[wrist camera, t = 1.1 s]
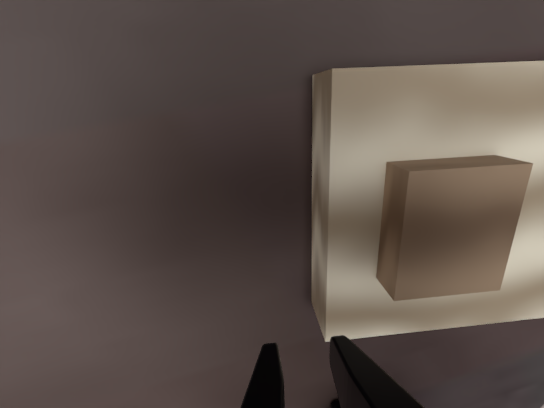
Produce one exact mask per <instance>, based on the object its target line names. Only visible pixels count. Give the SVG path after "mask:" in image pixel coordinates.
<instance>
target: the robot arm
mask: <svg viewBox="0 0 544 408" xmlns="http://www.w3.org/2000/svg"><path fill="white" fill-rule="evenodd" d="M330 366H331V370H332V374H333V378H334V382H335V386H336V390H337V394H338V398H339V400H338V401H334V402H332V403H331V408H424V407H423V406H422V405H421V404H420V403H419V402H418V401H417V400H416V399H414V398H413V397H412V396H411V395H410V394H409V393H408V392H407V391H406V390H405V389H403V388H402V387H401V386H400V385H399V384H398V383H397V382H396V381H395V380H394V379H392V378H391V377H390V376H389V375H388V374H387V373H386V372H385V371H384V370H383V369H381V368H380V367H379V366H378V365H377V364H376V363H375V362H374V361H373V360H372V359H370V358H369V357H368V356H367V355H366V354H365V353H364V352H363V351H362V350H361V349H359V348H358V347H357V346H356V345H355V344H354V343H353V342H352V341H351V340H350V339H348V338H347V337H346V336H344V335H340V336H332V337H331V339H330ZM241 408H285V401H284V380H283V373H282V367H281V361H280V355H279V350H278V345H277V343H267V344H264V345H263V346H262V348H261V351H260V354H259V357H258V360H257V362H256V365H255V368H254V371H253V374H252V377H251V379H250V382H249V385H248V388H247V391H246V394H245V396H244V399H243V402H242V405H241Z"/></svg>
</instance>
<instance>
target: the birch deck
mask: <svg viewBox="0 0 544 408" xmlns="http://www.w3.org/2000/svg"><path fill="white" fill-rule="evenodd" d="M485 155H498V156H502V157H507V158H511V159H516V160H520V161H525V162H530V163H533V166H532V170H531V174H530V178H529V181H528V185H527V189H526V193H525V197H524V201H523V204H522V208H521V212H520V216H519V220H518V224H517V227H516V231H515V235H514V239H513V243H512V247H511V250H510V254H509V258H508V262H507V266H506V270H505V273H504V277H503V281H502V285H501V289H500V290H498V291H489V292H479V293H469V294H459V295H450V296H440V297H430V298H420V299H411V300H401V301H393V299H392V298H391V297H390V295H389V294H388V293H387V291H386V290H385V289H384V287H383V286H382V285H381V283H380V282H379V281H378V279H377V278H376V273H377V262H378V251H379V240H380V229H381V218H382V207H383V196H384V185H385V174H386V163H387V162H391V161H406V160H422V159H438V158H454V157H469V156H485ZM311 302H312V305H313V308H314V311H315V314H316V316H317V319H318V322H319V325H320V328H321V331H322V334H323V337H324V339H325V342H330V339H331V337H332V336H340V335H344V336H346V337H347V338H348V339H357V338H366V337H374V336H383V335H392V334H401V333H410V332H419V331H428V330H437V329H446V328H455V327H464V326H473V325H482V324H491V323H500V322H509V321H518V320H527V319H536V318H544V61H524V62H497V63H470V64H443V65H416V66H389V67H361V68H334V69H329V70H326V71H323V72H320V73H317V74H314V75H312V283H311Z"/></svg>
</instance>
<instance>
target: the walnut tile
mask: <svg viewBox="0 0 544 408" xmlns="http://www.w3.org/2000/svg"><path fill="white" fill-rule="evenodd" d="M532 166H533V163H530V162H525V161H520V160H516V159H511V158H507V157H502V156H498V155H485V156H469V157H454V158H438V159H422V160H406V161H391V162H387V163H386V174H385V185H384V196H383V207H382V218H381V229H380V240H379V251H378V262H377V273H376V278H377V279H378V281H379V282H380V283H381V285H382V286H383V287H384V289H385V290H386V291H387V293H388V294H389V295H390V297H391V298H392V299H393V301H401V300H411V299H420V298H430V297H440V296H450V295H459V294H469V293H479V292H489V291H498V290H500V289H501V285H502V281H503V277H504V273H505V270H506V266H507V262H508V258H509V254H510V250H511V247H512V243H513V239H514V235H515V231H516V227H517V224H518V220H519V216H520V212H521V208H522V204H523V201H524V197H525V193H526V189H527V185H528V181H529V178H530V174H531V170H532Z"/></svg>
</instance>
